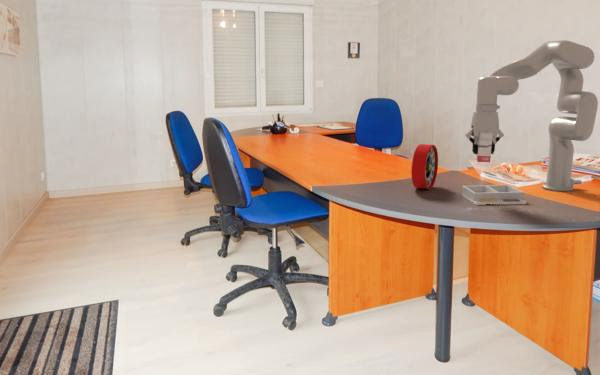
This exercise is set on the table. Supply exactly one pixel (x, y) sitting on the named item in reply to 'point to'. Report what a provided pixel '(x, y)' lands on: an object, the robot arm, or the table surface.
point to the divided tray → (493, 194)
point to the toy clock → (424, 166)
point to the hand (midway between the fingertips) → (483, 153)
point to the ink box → (484, 147)
